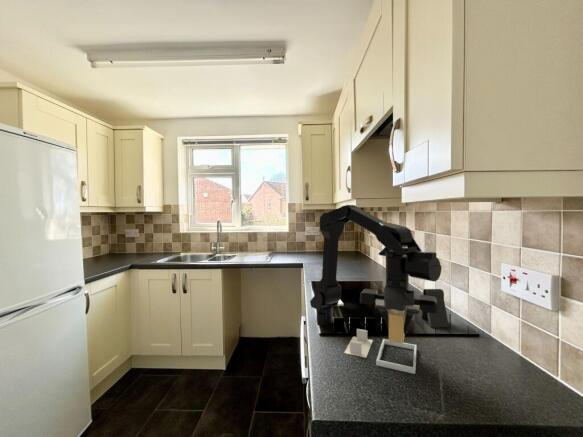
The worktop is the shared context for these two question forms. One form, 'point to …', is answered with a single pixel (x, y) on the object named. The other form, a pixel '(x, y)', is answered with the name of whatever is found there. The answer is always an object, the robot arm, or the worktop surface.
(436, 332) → the worktop surface
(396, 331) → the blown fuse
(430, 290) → the phone stand
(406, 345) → the parts tray
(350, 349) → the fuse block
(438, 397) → the worktop surface
